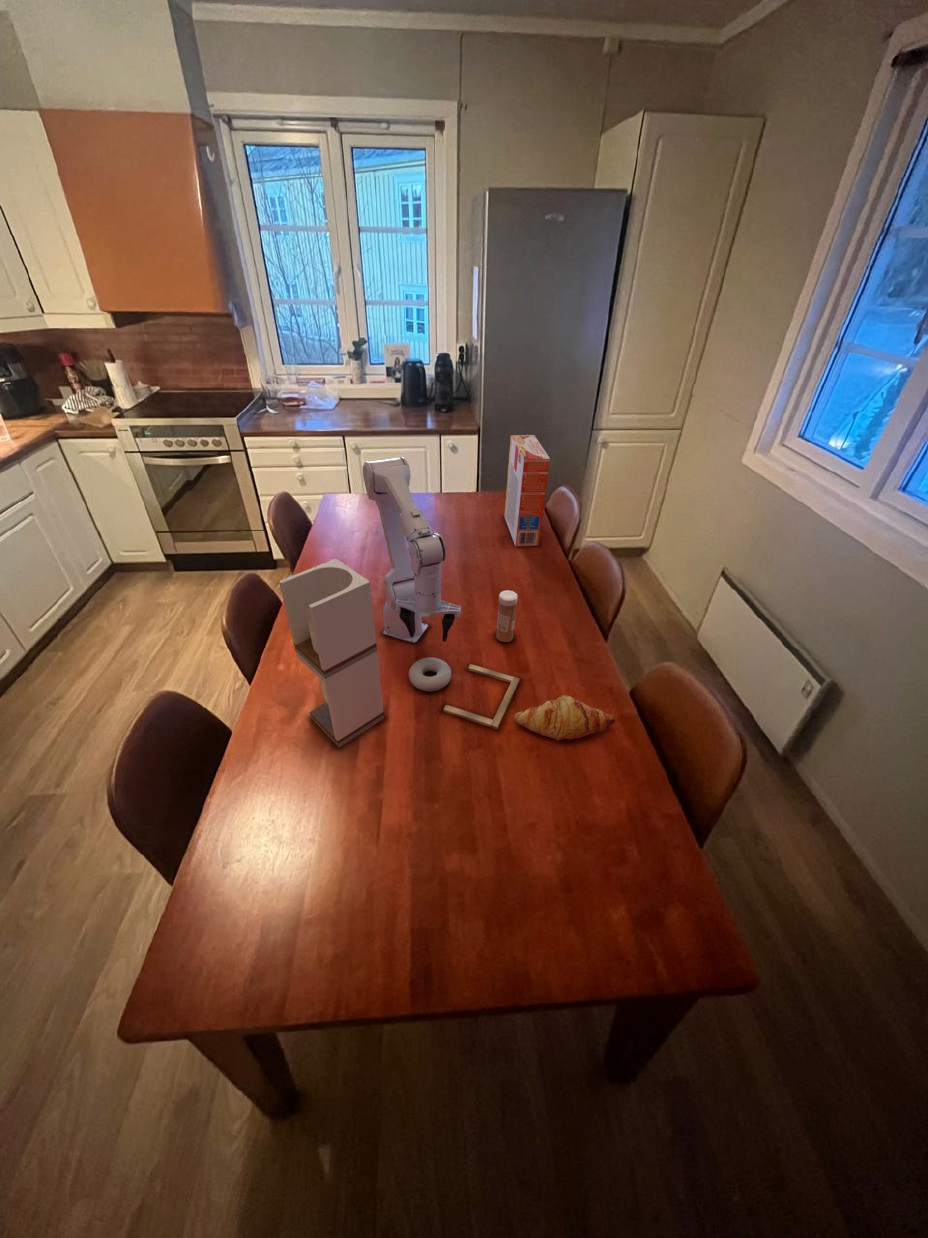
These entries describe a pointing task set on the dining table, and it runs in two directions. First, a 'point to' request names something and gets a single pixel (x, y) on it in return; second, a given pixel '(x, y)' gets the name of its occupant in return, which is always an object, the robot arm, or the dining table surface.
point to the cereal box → (526, 489)
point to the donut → (430, 682)
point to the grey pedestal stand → (337, 645)
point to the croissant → (564, 719)
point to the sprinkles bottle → (506, 615)
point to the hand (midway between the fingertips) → (428, 636)
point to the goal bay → (504, 703)
